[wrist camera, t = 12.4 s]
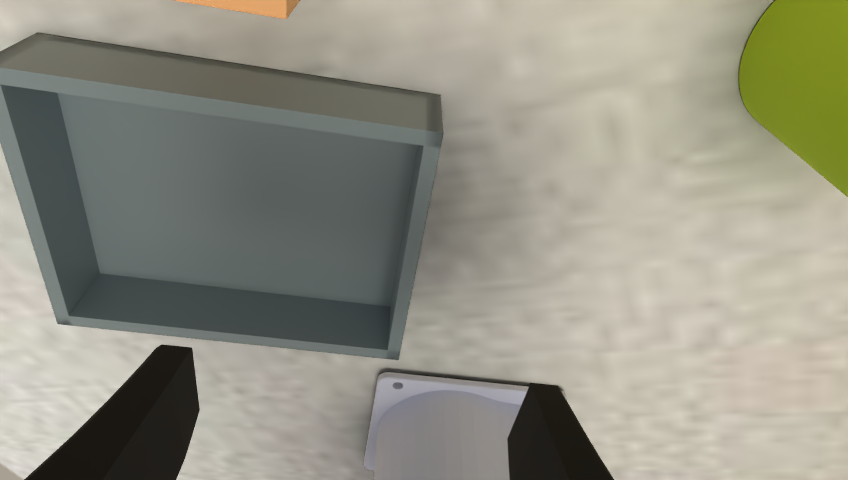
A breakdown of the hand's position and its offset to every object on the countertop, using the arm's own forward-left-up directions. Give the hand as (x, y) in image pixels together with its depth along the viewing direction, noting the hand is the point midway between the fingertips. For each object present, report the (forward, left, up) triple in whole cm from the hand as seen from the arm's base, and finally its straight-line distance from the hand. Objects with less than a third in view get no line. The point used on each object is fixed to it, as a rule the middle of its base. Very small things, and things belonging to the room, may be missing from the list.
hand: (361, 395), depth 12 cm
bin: (+5, +2, -10) cm, 12 cm away
